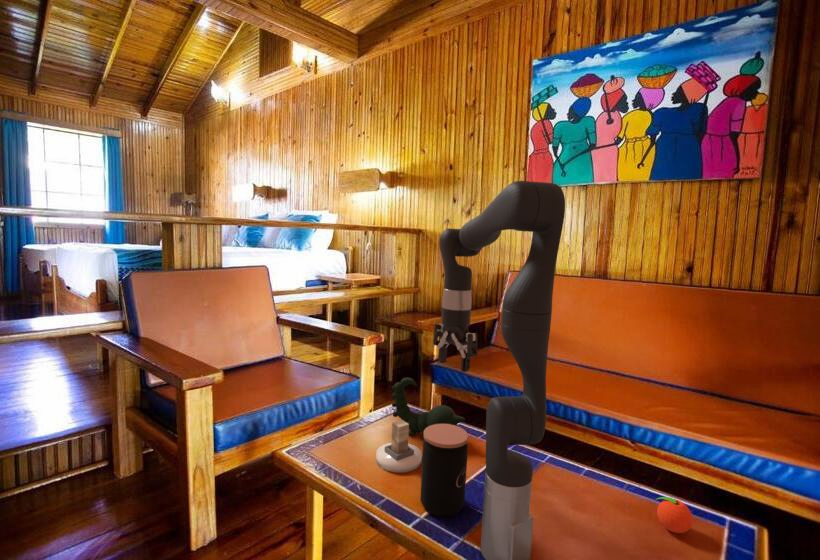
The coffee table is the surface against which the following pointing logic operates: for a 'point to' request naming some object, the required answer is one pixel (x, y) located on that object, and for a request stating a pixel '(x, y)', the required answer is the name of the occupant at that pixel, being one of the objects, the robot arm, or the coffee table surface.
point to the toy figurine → (425, 419)
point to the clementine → (674, 515)
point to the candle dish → (398, 459)
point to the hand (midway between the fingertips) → (453, 366)
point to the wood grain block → (399, 436)
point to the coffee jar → (444, 469)
